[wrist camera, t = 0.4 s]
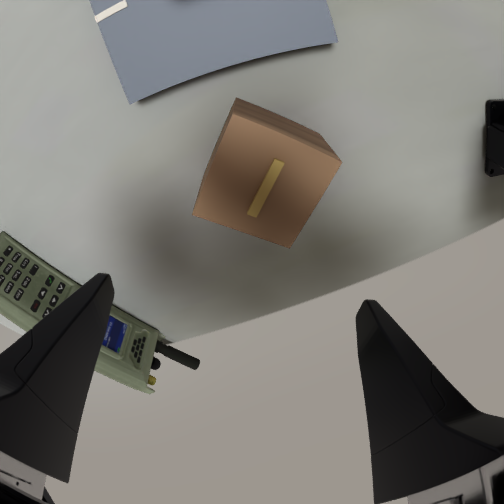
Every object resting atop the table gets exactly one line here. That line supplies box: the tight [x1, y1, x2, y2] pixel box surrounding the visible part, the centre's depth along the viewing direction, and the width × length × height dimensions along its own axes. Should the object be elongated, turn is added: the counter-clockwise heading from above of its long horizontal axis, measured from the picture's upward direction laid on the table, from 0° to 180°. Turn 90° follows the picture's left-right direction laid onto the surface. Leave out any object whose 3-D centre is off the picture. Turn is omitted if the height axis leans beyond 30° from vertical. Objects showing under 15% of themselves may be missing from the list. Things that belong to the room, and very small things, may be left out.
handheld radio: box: [0, 231, 200, 394], centre depth 24 cm, size 7×3×25 cm
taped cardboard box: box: [192, 98, 342, 248], centre depth 16 cm, size 6×6×5 cm
